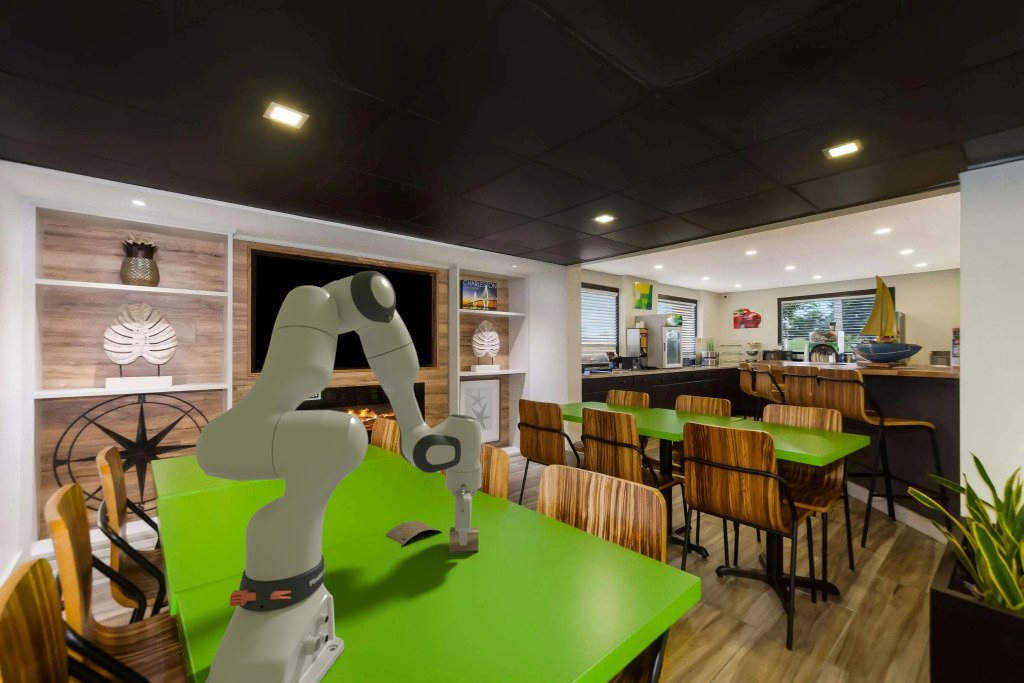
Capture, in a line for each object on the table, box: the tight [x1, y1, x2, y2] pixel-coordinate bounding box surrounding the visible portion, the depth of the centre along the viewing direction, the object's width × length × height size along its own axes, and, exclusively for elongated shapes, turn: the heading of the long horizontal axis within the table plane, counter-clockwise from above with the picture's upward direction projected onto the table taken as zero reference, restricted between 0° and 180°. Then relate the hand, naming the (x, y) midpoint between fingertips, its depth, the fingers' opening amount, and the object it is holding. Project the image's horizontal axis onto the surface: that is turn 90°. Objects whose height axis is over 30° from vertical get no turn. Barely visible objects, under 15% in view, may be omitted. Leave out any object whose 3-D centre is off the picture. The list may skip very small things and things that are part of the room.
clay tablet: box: [385, 520, 437, 546], centre depth 119 cm, size 14×10×3 cm
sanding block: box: [448, 525, 479, 554], centre depth 109 cm, size 4×7×5 cm, turn 94°
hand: (463, 536), depth 109 cm, fingers open, 8 cm apart
